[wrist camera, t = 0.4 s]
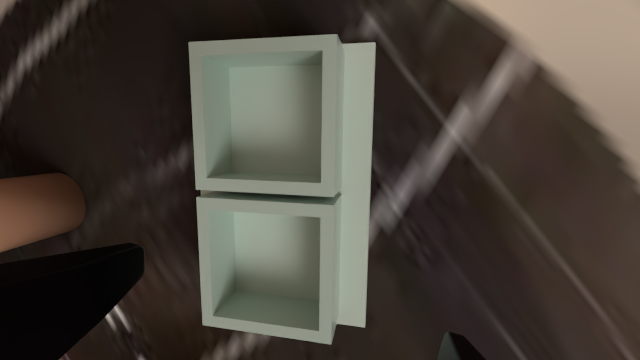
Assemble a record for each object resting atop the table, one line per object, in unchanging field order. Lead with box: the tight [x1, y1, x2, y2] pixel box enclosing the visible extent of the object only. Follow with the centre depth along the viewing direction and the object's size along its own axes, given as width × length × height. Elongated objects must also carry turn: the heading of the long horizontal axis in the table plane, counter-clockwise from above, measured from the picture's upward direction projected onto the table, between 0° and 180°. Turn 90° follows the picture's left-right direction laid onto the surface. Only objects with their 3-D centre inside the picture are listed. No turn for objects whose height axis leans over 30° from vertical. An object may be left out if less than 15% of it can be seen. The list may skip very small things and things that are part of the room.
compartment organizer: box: [189, 34, 376, 344], centre depth 21 cm, size 20×13×4 cm, turn 179°
